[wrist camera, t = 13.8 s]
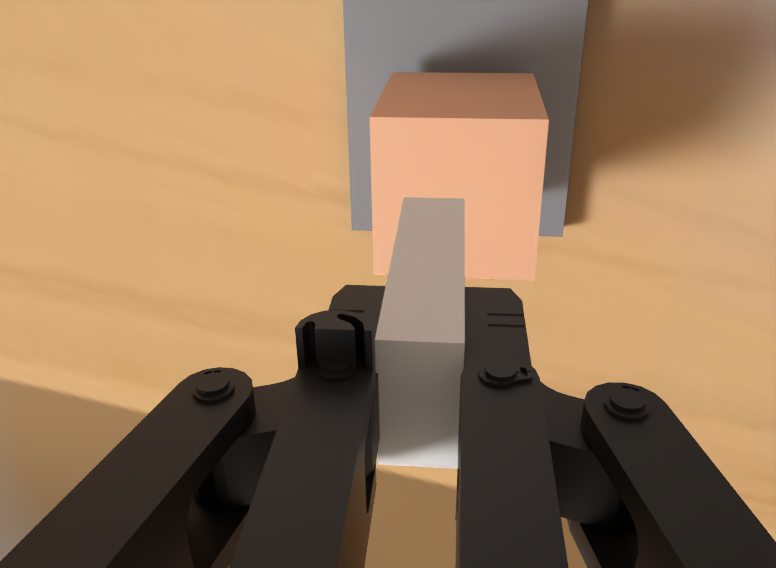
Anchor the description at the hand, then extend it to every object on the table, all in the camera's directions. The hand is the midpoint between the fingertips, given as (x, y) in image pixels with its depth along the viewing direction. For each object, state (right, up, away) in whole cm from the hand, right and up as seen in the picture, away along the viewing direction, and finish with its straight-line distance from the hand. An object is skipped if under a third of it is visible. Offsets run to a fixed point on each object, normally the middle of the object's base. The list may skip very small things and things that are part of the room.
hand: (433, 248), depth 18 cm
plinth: (+2, +7, +11) cm, 13 cm away
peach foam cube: (+2, +5, +10) cm, 11 cm away
